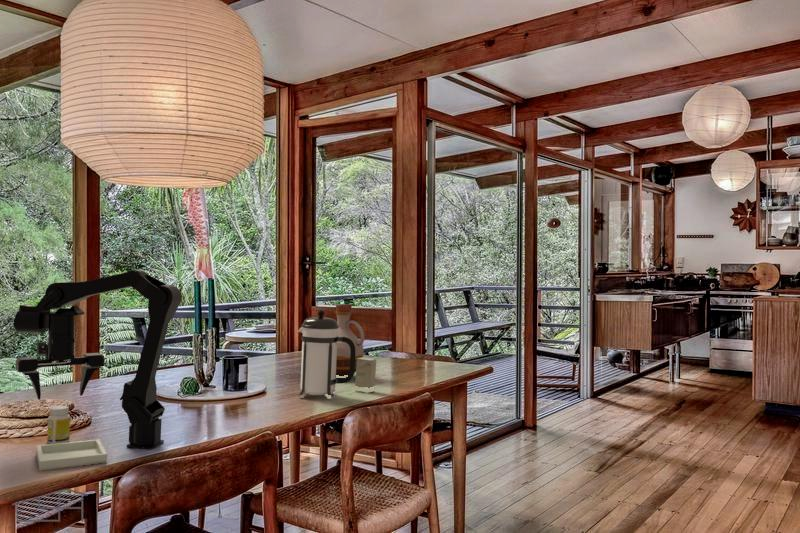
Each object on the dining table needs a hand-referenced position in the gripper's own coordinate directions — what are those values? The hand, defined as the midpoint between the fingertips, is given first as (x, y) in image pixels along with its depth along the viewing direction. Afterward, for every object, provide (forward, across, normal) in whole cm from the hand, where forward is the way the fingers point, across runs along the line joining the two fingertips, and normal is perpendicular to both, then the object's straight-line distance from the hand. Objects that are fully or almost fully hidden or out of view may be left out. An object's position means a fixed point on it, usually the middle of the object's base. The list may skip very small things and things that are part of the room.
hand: (60, 397), depth 156 cm
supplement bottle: (+11, 0, 0) cm, 11 cm away
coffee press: (+12, -85, -18) cm, 87 cm away
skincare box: (+12, -103, -18) cm, 105 cm away
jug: (+12, -111, -45) cm, 120 cm away
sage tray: (+11, 0, +16) cm, 19 cm away
